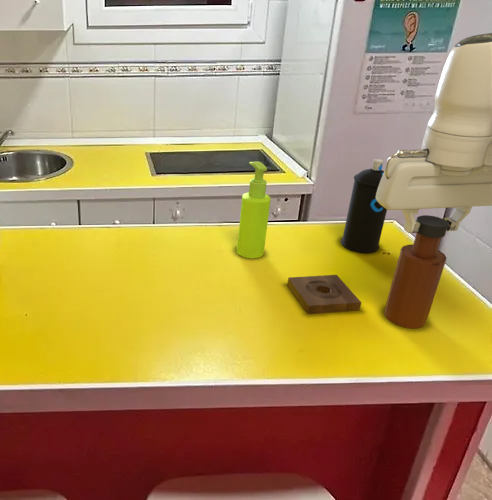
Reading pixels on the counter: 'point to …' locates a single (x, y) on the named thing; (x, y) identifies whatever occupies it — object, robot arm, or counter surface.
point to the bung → (432, 226)
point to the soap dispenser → (254, 216)
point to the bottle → (415, 282)
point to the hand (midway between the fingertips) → (430, 230)
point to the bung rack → (323, 294)
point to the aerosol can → (365, 212)
